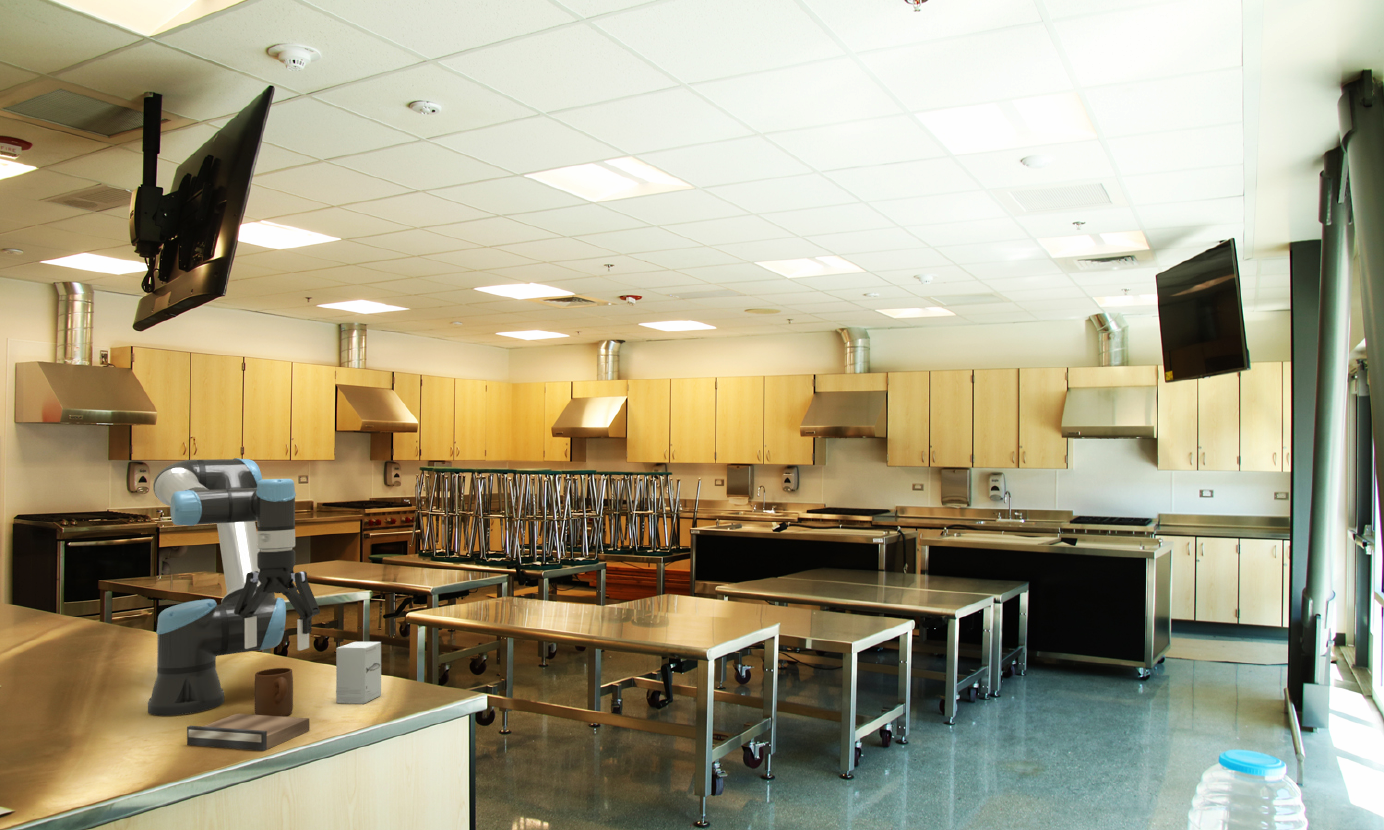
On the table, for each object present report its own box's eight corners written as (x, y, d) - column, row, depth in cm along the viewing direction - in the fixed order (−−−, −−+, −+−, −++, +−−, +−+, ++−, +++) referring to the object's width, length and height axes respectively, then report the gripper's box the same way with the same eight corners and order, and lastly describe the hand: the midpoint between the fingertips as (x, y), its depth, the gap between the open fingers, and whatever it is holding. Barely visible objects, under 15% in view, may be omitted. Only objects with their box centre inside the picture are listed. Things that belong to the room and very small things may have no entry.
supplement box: (364, 704, 202) (364, 647, 202) (335, 703, 203) (335, 647, 204) (382, 695, 209) (382, 641, 209) (353, 694, 210) (353, 640, 211)
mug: (303, 719, 191) (303, 674, 191) (265, 726, 186) (264, 681, 186) (287, 708, 200) (287, 665, 200) (250, 715, 195) (250, 671, 196)
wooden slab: (186, 745, 175) (186, 726, 175) (236, 725, 187) (236, 708, 188) (263, 750, 170) (263, 732, 170) (309, 730, 183) (309, 713, 183)
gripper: (216, 551, 194) (216, 650, 193) (313, 551, 188) (313, 653, 187) (242, 548, 202) (242, 643, 201) (336, 547, 195) (337, 646, 194)
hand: (276, 648), depth 194 cm, fingers open, 13 cm apart
